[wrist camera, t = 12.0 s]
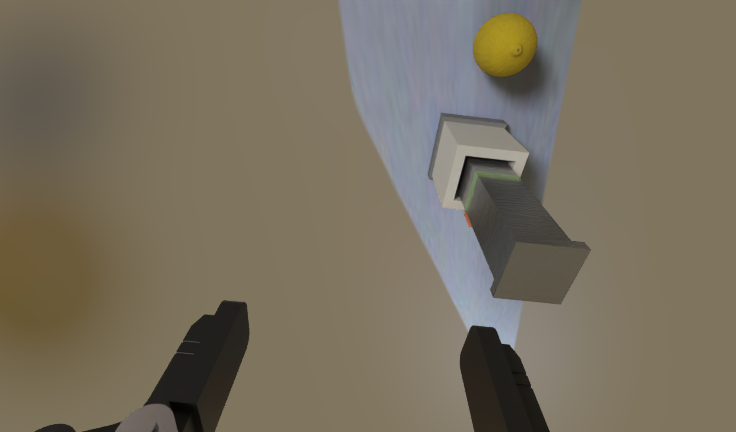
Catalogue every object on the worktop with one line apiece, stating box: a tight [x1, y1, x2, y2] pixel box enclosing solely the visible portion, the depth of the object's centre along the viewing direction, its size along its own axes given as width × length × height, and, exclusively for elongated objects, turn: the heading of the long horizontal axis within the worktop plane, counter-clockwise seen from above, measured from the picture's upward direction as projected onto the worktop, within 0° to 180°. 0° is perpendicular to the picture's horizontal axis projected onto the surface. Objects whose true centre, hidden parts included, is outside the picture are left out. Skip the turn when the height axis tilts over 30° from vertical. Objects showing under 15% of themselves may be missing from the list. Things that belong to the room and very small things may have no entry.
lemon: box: [473, 13, 537, 77], centre depth 33 cm, size 6×6×8 cm
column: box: [456, 156, 591, 304], centre depth 30 cm, size 5×5×17 cm
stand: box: [428, 113, 529, 227], centre depth 38 cm, size 8×8×12 cm
